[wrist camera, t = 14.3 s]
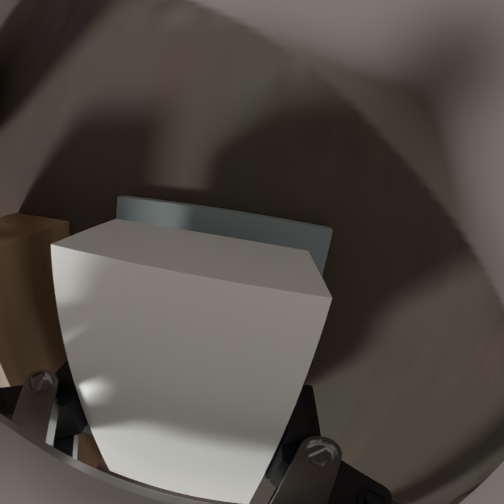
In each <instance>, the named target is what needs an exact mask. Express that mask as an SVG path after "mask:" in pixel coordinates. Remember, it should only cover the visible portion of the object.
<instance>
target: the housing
mask: <svg viewBox="0 0 504 504" xmlns="http://www.w3.org/2000/svg"><path fill="white" fill-rule="evenodd" d="M69 236H70V221H65V220H59V219H53V218H47V217H41V216H35V215H29V214H23V213H14V214H10V215H7V216H3V217H0V388H2V387H11V386H19V385H24V382H25V379H26V378H27V376H28V375H29V374H30V373H31V372H33V371H36V370H40V369H42V370H49V371H51V372H53V373H54V374H55V373H56V372H57V371H58V370H59V368H60V367H61V366H62V365H63V364H64V363H65V362H66V361H67V360H68V358H67V354H66V350H65V346H64V342H63V337H62V332H61V327H60V322H59V316H58V310H57V304H56V297H55V289H54V281H53V271H52V259H51V244H52V243H55V242H57V241H60V240H62V239H64V238H67V237H69ZM101 458H102V454H101V452H100V450H99V448H98V445H97V443H96V441H95V438H94V436H92V435H90V434H88V433H85V432H83V431H82V433H81V434H79V441H78V454H77V460H78V461H80V462H83V463H85V464H87V465H89V466H91V467H93V468H97V466H98V464H99V462H100V460H101Z"/></svg>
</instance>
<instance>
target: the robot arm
mask: <svg viewBox="0 0 504 504" xmlns="http://www.w3.org/2000/svg"><path fill="white" fill-rule="evenodd" d="M82 431H83V432H85V433H88V434H90V435H92V436H93V434H92V431H91V429H90V426H89V424H88V421H87V419H86V416H85V413H84V411H83V408H82V405H81V402H80V399H79V396H78V393H77V390H76V387H75V384H74V380H73V377H72V373H71V370H70V366H69V362H68V360H67V361H66V362H65V363H64V364H63V365H62V366H61V367H60V368H59V370H58V371H57V372H56V373H55V374H54V373H53V372H51V371H49V370H42V369H40V370H36V371H33V372H31V373H30V374H29V375H28V376H27V378H26V379H25V382H24V385H19V386H11V387H2V388H0V504H211V503H206V502H200V501H195V500H191V499H186V498H182V497H178V496H174V495H170V494H166V493H162V492H159V491H155V490H152V489H149V488H146V487H142V486H139V485H136V484H133V483H131V482H128V481H125V480H122V479H120V478H117V477H115V476H112V475H110V474H107V473H105V472H102V471H100V470H98V469H96V468H93V467H91V466H89V465H87V464H85V463H83V462H80V461H78V460H77V454H78V441H79V434H81V433H82ZM341 459H342V451H341V448H340V446H339V445H338V444H337V443H336V442H335V441H333V440H332V439H330V438H327V437H323V436H321V434H320V428H319V422H318V416H317V410H316V404H315V398H314V393H313V388H312V386H311V385H303V387H302V389H301V392H300V394H299V397H298V399H297V402H296V404H295V407H294V409H293V412H292V414H291V417H290V419H289V421H288V424H287V426H286V428H285V431H284V433H283V435H282V437H281V440H280V442H279V444H278V446H277V449H276V451H275V453H274V455H273V457H272V459H271V461H270V463H269V465H268V467H267V470H266V479H270V482H271V483H272V484H273V485H274V486H275V487H276V488H275V490H274V491H273V493H272V495H271V497H270V499H269V501H268V502H267V504H409V503H406V502H404V501H402V500H400V499H398V500H397V501H396V500H394V499H392V496H391V493H390V492H389V490H388V489H387V488H386V487H384V486H383V485H381V484H380V483H378V482H376V481H374V480H373V479H371V478H369V477H368V476H366V475H364V474H363V473H361V472H359V471H358V470H356V469H354V468H353V467H351V466H350V465H348V464H347V463H345V462H343V461H342V460H341Z"/></svg>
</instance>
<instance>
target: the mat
mask: <svg viewBox="0 0 504 504" xmlns="http://www.w3.org/2000/svg"><path fill="white" fill-rule="evenodd" d="M116 219H121V220H127V221H133V222H140V223H146V224H152V225H158V226H165V227H171V228H177V229H183V230H189V231H195V232H201V233H207V234H213V235H219V236H225V237H231V238H237V239H243V240H249V241H255V242H261V243H267V244H272V245H278V246H284V247H290V248H295V249H301V250H307V251H309V253H310V255H311V257H312V259H313V261H314V263H315V265H316V267H317V269H318V270H319V272H320V274H321V276H322V275H323V271H324V267H325V263H326V259H327V255H328V250H329V246H330V242H331V237H332V233H333V230H332V229H331V228H330V227H327V226H322V225H317V224H311V223H306V222H300V221H295V220H289V219H284V218H278V217H272V216H266V215H260V214H254V213H248V212H242V211H236V210H230V209H223V208H217V207H210V206H203V205H196V204H189V203H182V202H175V201H167V200H159V199H152V198H144V197H135V196H127V195H123V196H118V197H117V212H116Z"/></svg>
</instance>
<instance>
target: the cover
mask: <svg viewBox="0 0 504 504" xmlns="http://www.w3.org/2000/svg"><path fill="white" fill-rule="evenodd" d="M51 259H52V271H53V281H54V289H55V297H56V304H57V310H58V316H59V322H60V327H61V332H62V337H63V342H64V346H65V350H66V354H67V358H68V362H69V366H70V370H71V373H72V377H73V380H74V384H75V387H76V390H77V393H78V396H79V399H80V402H81V405H82V408H83V411H84V413H85V416H86V419H87V421H88V424H89V426H90V429H91V431H92V434H93V436H94V438H95V441H96V443H97V445H98V448H99V450H100V452H101V454H102V456H103V458H104V460H105V462H106V464H107V466H108V468H109V470H110V471H112V472H115V473H117V474H120V475H122V476H125V477H128V478H131V479H133V480H136V481H139V482H142V483H146V484H149V485H152V486H155V487H159V488H162V489H166V490H170V491H174V492H178V493H182V494H187V495H191V496H196V497H201V498H206V499H212V500H219V501H225V502H233V503H242V504H249V502H250V500H251V499H252V497H253V495H254V493H255V491H256V489H257V487H258V485H259V483H260V481H261V480H262V478H263V476H264V474H265V472H266V470H267V467H268V465H269V463H270V461H271V459H272V457H273V455H274V453H275V451H276V449H277V446H278V444H279V442H280V440H281V437H282V435H283V433H284V431H285V428H286V426H287V424H288V421H289V419H290V417H291V414H292V412H293V409H294V407H295V404H296V402H297V399H298V397H299V394H300V392H301V389H302V387H303V384H304V381H305V379H306V376H307V373H308V371H309V368H310V365H311V362H312V359H313V357H314V354H315V351H316V348H317V345H318V342H319V339H320V336H321V333H322V330H323V327H324V324H325V320H326V317H327V314H328V311H329V307H330V304H331V301H332V296H331V294H330V292H329V290H328V288H327V286H326V284H325V282H324V280H323V278H322V276H321V274H320V272H319V270H318V269H317V267H316V265H315V263H314V261H313V259H312V257H311V255H310V253H309V251H307V250H301V249H295V248H290V247H284V246H278V245H272V244H267V243H261V242H255V241H249V240H243V239H237V238H231V237H225V236H219V235H213V234H207V233H201V232H195V231H189V230H183V229H177V228H171V227H165V226H158V225H152V224H146V223H140V222H133V221H127V220H121V219H114V220H111V221H108V222H106V223H103V224H100V225H97V226H95V227H92V228H90V229H87V230H84V231H82V232H79V233H77V234H74V235H72V236H69V237H67V238H64V239H62V240H60V241H57V242H55V243H52V244H51Z"/></svg>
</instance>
